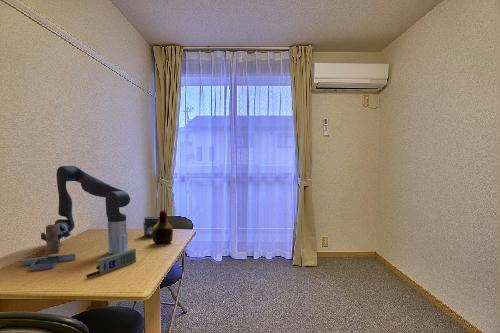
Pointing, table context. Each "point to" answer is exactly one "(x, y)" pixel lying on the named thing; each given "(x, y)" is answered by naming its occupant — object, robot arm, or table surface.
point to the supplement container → (149, 225)
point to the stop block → (52, 239)
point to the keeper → (46, 261)
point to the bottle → (162, 230)
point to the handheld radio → (114, 262)
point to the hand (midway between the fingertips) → (52, 238)
